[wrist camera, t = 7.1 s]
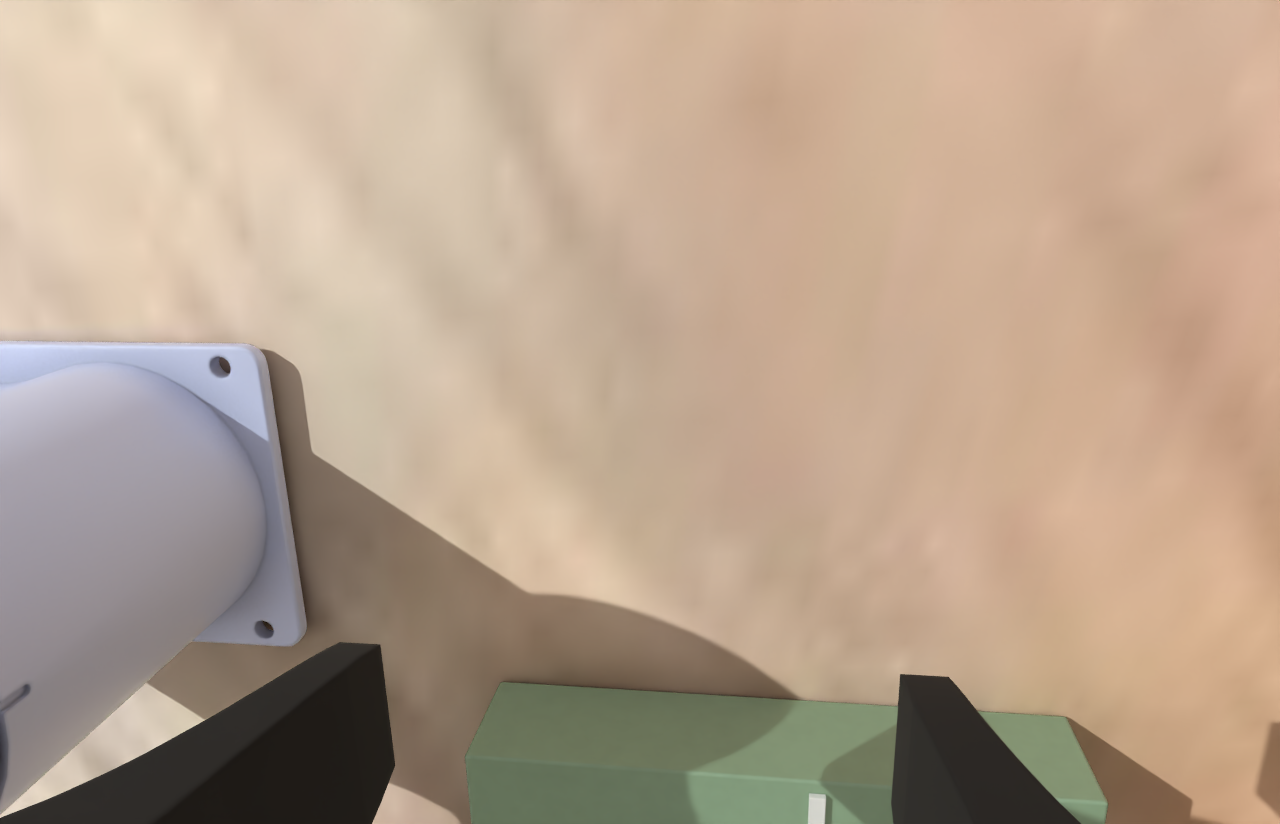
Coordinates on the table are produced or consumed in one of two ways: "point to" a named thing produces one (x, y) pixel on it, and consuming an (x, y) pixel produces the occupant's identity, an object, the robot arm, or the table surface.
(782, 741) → the plate
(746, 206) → the table surface
